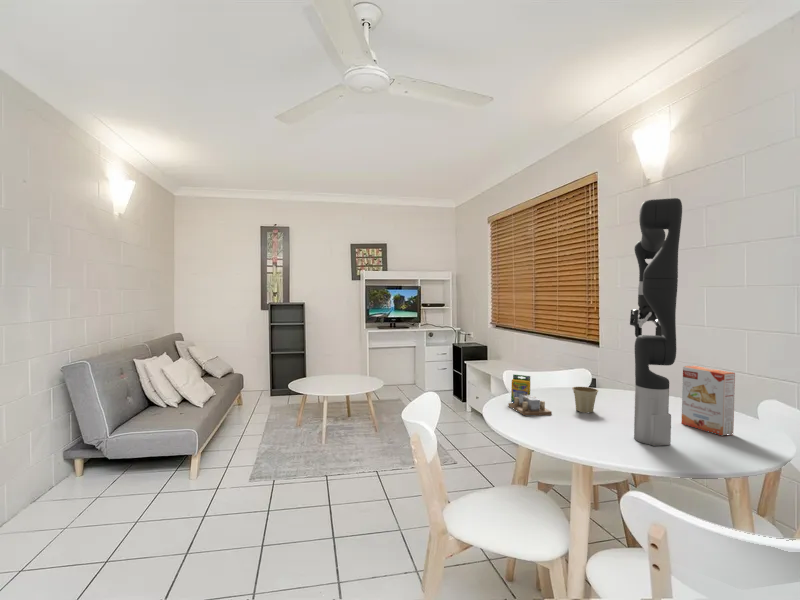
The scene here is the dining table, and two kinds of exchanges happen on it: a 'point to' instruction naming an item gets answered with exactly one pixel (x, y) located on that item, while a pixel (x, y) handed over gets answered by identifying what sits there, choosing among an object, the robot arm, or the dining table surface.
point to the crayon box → (520, 386)
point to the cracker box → (708, 399)
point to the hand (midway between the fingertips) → (648, 337)
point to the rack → (526, 411)
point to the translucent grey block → (530, 402)
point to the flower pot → (585, 398)
